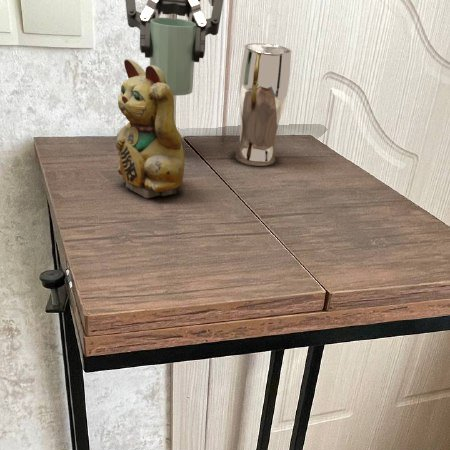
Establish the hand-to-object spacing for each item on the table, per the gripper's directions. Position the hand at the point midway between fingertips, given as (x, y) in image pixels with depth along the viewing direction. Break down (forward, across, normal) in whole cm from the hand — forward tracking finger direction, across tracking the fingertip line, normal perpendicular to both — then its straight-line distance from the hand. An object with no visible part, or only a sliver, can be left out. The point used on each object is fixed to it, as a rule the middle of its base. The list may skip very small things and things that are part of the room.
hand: (172, 56), depth 84 cm
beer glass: (+8, +13, +11) cm, 19 cm away
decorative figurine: (+18, -2, +1) cm, 19 cm away
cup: (+2, 0, +4) cm, 5 cm away
